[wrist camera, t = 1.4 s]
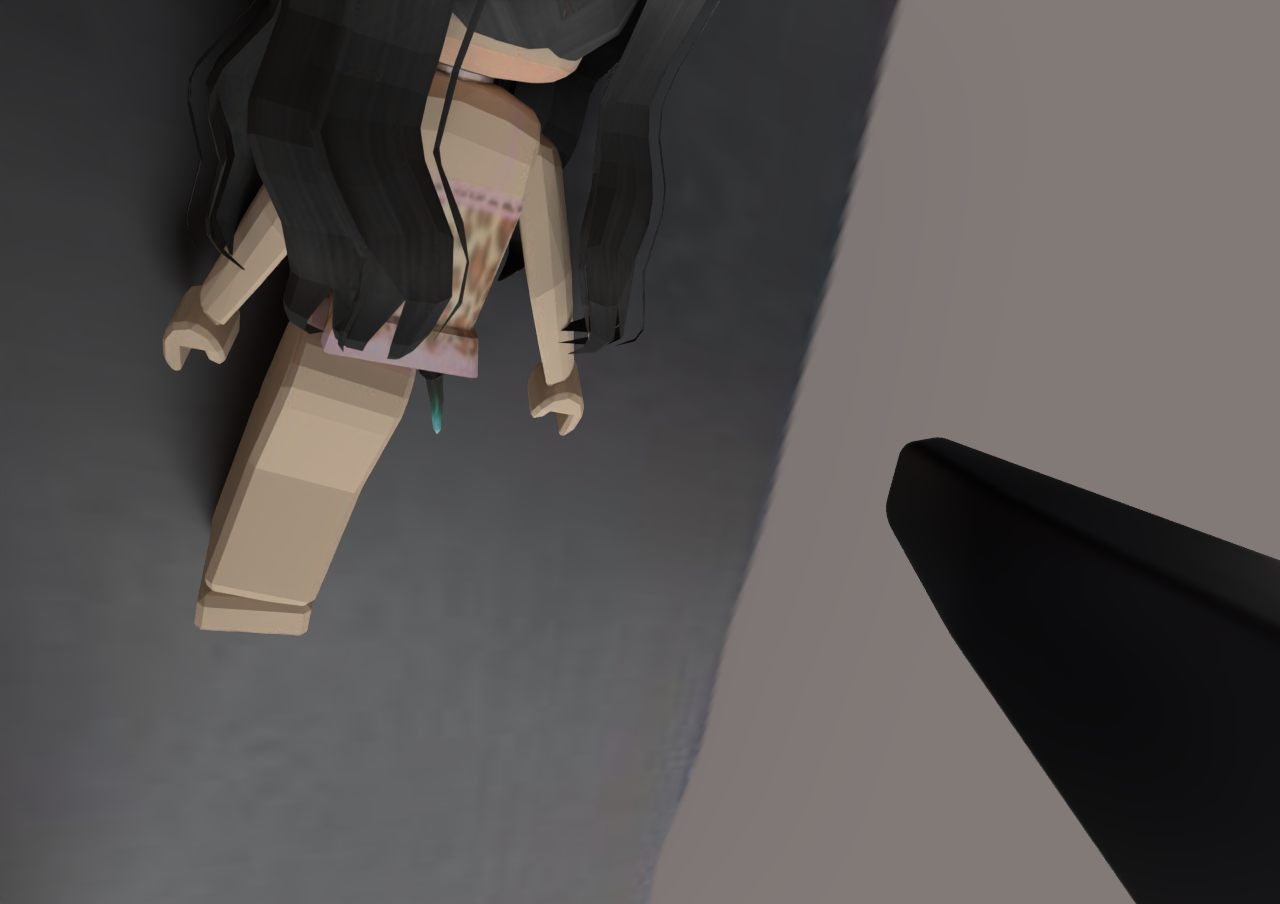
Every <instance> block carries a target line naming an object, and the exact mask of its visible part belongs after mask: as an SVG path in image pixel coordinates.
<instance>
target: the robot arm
mask: <svg viewBox="0 0 1280 904" xmlns="http://www.w3.org/2000/svg"><path fill="white" fill-rule="evenodd" d="M886 512H887V518H888V521H889V524H890V526H891V528H892V530H893V532H894V534H895V536H896V538H897V539H898V541H899V543H900V545H901V547H902V548H903V550H904V552H905V554H906V556H907V558H908V559H909V561H910V563H911V565H912V567H913V568H914V570H915V572H916V574H917V576H918V577H919V579H920V581H921V583H922V585H923V586H924V588H925V590H926V592H927V594H928V595H929V597H930V599H931V601H932V603H933V605H934V606H935V608H936V610H937V611H938V613H939V615H940V617H941V619H942V621H943V622H944V624H945V625H946V627H947V629H948V631H949V633H950V634H951V636H952V637H953V639H954V641H955V642H956V644H957V645H958V647H959V648H960V650H961V651H962V653H963V654H964V656H965V657H966V659H967V660H968V662H969V663H970V665H971V666H972V667H973V669H974V670H975V672H976V673H977V674H978V676H979V678H980V679H981V680H982V682H983V683H984V685H985V686H986V688H987V689H988V690H989V692H990V693H991V695H992V696H993V698H994V699H995V701H996V702H997V704H998V705H999V706H1000V708H1001V709H1002V711H1003V712H1004V714H1005V715H1006V717H1007V718H1008V719H1009V721H1010V722H1011V724H1012V725H1013V727H1014V728H1015V729H1016V731H1017V733H1018V734H1019V735H1020V737H1021V738H1022V740H1023V741H1024V743H1025V744H1026V745H1027V747H1028V748H1029V750H1030V751H1031V753H1032V754H1033V756H1034V757H1035V759H1036V760H1037V762H1038V763H1039V764H1040V766H1041V767H1042V769H1043V770H1044V772H1045V773H1046V775H1047V776H1048V777H1049V779H1050V780H1051V782H1052V783H1053V784H1054V786H1055V788H1056V789H1057V790H1058V792H1059V793H1060V795H1061V796H1062V798H1063V799H1064V800H1065V802H1066V803H1067V805H1068V806H1069V808H1070V809H1071V810H1072V812H1073V814H1074V815H1075V816H1076V818H1077V819H1078V821H1079V822H1080V824H1081V825H1082V827H1083V828H1084V830H1085V831H1086V832H1087V834H1088V835H1089V837H1090V838H1091V840H1092V841H1093V842H1094V844H1095V845H1096V847H1097V848H1098V850H1099V851H1100V853H1101V854H1102V855H1103V857H1104V858H1105V860H1106V861H1107V863H1108V864H1109V866H1110V867H1111V869H1112V870H1113V871H1114V873H1115V874H1116V876H1117V877H1118V879H1119V880H1120V882H1121V883H1122V884H1123V886H1124V887H1125V889H1126V890H1127V892H1128V893H1129V895H1130V896H1131V897H1132V899H1133V900H1134V902H1135V903H1136V904H1280V560H1277V559H1275V558H1272V557H1269V556H1266V555H1264V554H1261V553H1258V552H1255V551H1253V550H1250V549H1247V548H1244V547H1242V546H1239V545H1236V544H1233V543H1231V542H1228V541H1225V540H1222V539H1220V538H1217V537H1214V536H1212V535H1209V534H1206V533H1203V532H1200V531H1198V530H1195V529H1192V528H1189V527H1187V526H1184V525H1181V524H1179V523H1176V522H1173V521H1170V520H1168V519H1165V518H1162V517H1159V516H1156V515H1154V514H1151V513H1148V512H1145V511H1143V510H1140V509H1137V508H1135V507H1132V506H1129V505H1126V504H1124V503H1121V502H1118V501H1115V500H1113V499H1110V498H1107V497H1104V496H1102V495H1099V494H1096V493H1093V492H1091V491H1088V490H1085V489H1082V488H1079V487H1077V486H1074V485H1072V484H1069V483H1066V482H1063V481H1061V480H1058V479H1055V478H1052V477H1049V476H1047V475H1044V474H1041V473H1039V472H1036V471H1033V470H1030V469H1028V468H1025V467H1022V466H1019V465H1016V464H1014V463H1011V462H1008V461H1005V460H1003V459H1000V458H997V457H994V456H992V455H989V454H986V453H984V452H981V451H978V450H975V449H973V448H970V447H967V446H964V445H962V444H959V443H956V442H954V441H950V440H948V439H945V438H930V439H924V440H919V441H913V442H910V443H908V444H906V445H905V446H904V448H903V449H902V450H901V452H900V454H899V458H898V462H897V465H896V469H895V473H894V476H893V480H892V484H891V487H890V491H889V495H888V499H887V503H886Z"/></svg>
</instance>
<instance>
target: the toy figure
mask: <svg viewBox="0 0 1280 904" xmlns="http://www.w3.org/2000/svg"><path fill="white" fill-rule="evenodd" d="M255 1H256V0H253V2H252V3H251V5H250V6H249V7H248V8H247V9H246V10H245V11H244V12H243V13H242V14H241V15H240V16H239V17H238V18H237V19H236V21H235V22H234V23H233V24H232V25H231V26H230V27H229V28H228V29H227V30H226V31H225V32H224V33H223V34H222V36H221V37H220V38H219V39H218V40H217V41H216V42H215V43H214V44H213V45H212V46H211V47H210V48H209V49H208V50H207V52H206V53H205V54H204V55H203V56H202V57H201V58H200V59H199V60H198V61H197V63H196V65H195V67H194V70H193V72H192V74H191V76H190V78H189V88H188V102H187V103H188V107H189V112H190V116H191V121H192V126H193V130H194V135H195V139H196V144H197V148H198V153H199V157H200V161H199V165H198V169H197V173H196V177H195V181H194V185H193V189H192V192H191V196H190V200H189V204H188V208H187V212H186V217H187V227H188V232H189V234H190V235H191V237H192V238H193V236H192V234H191V233H190V231H189V219H188V212H189V208H190V204H191V200H192V196H193V193H194V189H195V185H196V181H197V178H198V174H199V170H200V166H201V163H202V155H201V150H200V146H199V141H198V136H197V131H196V127H195V122H194V117H193V112H192V108H191V103H190V95H191V78H192V76H193V74H194V72H195V69H196V68H197V67H198V66H199V64H200V63H201V62H202V61H203V60H204V58H205V57H206V56H207V55H208V54H209V53H210V51H211V50H212V49H213V48H214V47H215V45H216V44H217V43H218V42H219V41H220V40H221V38H222V37H223V36H224V35H225V34H226V33H227V32H228V31H229V30H230V29H231V28H232V27H233V26H234V25H235V24H236V23H237V22H238V20H239V19H240V18H241V17H242V16H243V15H244V14H245V13H246V12H247V11H248V10H249V9H250V8H251V7H252V6H253V5H254V3H255ZM706 1H707V0H269V3H268V6H267V7H266V8H265V9H264V10H263V12H262V13H261V14H260V15H259V16H258V17H257V18H256V19H255V20H254V21H253V22H252V23H251V24H250V25H249V26H248V27H247V28H246V29H245V30H244V31H243V32H242V33H241V34H240V35H239V36H238V37H237V38H236V39H235V41H234V42H233V43H232V44H231V45H230V46H229V47H228V48H227V49H226V50H225V51H224V52H223V53H222V54H221V55H220V56H219V57H218V59H217V61H216V63H215V65H214V67H213V69H212V71H211V73H210V75H209V77H208V79H207V82H206V103H205V108H206V112H207V116H208V120H209V124H210V128H211V132H212V137H213V141H214V145H215V149H216V153H217V157H218V165H217V169H216V173H215V177H214V181H213V185H212V189H211V193H210V197H209V200H208V204H207V208H206V212H205V224H206V233H207V236H208V237H209V239H210V240H211V242H212V243H213V245H214V246H215V247H216V249H217V250H218V252H220V253H221V255H220V256H219V258H218V260H217V261H216V263H215V265H214V266H213V268H212V270H211V271H210V273H209V275H208V276H207V278H206V280H205V281H204V283H203V285H199V286H192V287H191V288H190V289H189V290H188V291H187V292H186V293H185V295H184V297H183V298H182V300H181V302H180V304H179V306H178V308H177V310H176V312H175V314H174V315H173V317H172V319H171V321H170V323H169V325H168V327H167V329H166V331H165V334H164V337H163V340H162V344H163V353H164V356H165V359H166V361H167V363H168V364H169V365H170V367H171V368H172V369H173V370H178V371H179V370H180V369H181V368H182V366H183V364H184V362H185V360H186V358H187V356H188V354H189V352H190V350H191V348H195V349H200V350H205V352H206V354H207V356H208V358H209V359H210V360H212V361H214V362H216V363H218V364H220V363H222V362H224V361H225V359H226V357H227V355H228V353H229V351H230V349H231V347H232V345H233V343H234V340H235V338H236V336H237V334H238V332H239V327H240V312H239V310H238V309H239V308H240V307H241V306H242V304H243V303H244V302H245V301H246V300H247V299H248V298H249V297H250V296H251V295H252V294H253V293H254V292H255V290H256V289H257V288H258V287H259V286H260V285H261V284H262V282H263V281H264V280H265V279H266V278H267V277H268V275H269V274H270V273H271V272H272V271H273V270H274V269H275V267H276V266H277V265H278V264H279V263H280V262H281V260H282V259H283V258H284V257H285V256H286V255H288V261H289V266H290V274H289V278H288V281H287V285H286V288H285V292H284V296H283V303H284V309H285V311H286V314H287V316H288V319H289V323H288V325H287V327H286V330H285V332H284V334H283V337H282V339H281V341H280V344H279V346H278V348H277V351H276V353H275V355H274V358H273V360H272V362H271V365H270V367H269V369H268V372H267V374H266V376H265V379H264V381H263V383H262V386H261V389H260V393H259V396H258V399H257V400H256V401H255V403H254V406H253V409H252V412H251V414H250V417H249V420H248V422H247V425H246V428H245V431H244V433H243V436H242V439H241V441H240V444H239V447H238V450H237V452H236V455H235V458H234V461H233V463H232V466H231V469H230V471H229V474H228V477H227V480H226V482H225V485H224V488H223V490H222V493H221V496H220V499H219V501H218V504H217V507H216V509H215V512H214V515H213V518H212V525H211V533H210V540H209V546H208V551H207V556H206V561H205V565H204V570H203V575H202V580H201V585H200V590H199V595H198V600H197V608H196V616H195V625H196V626H197V627H199V628H200V629H202V630H219V631H235V632H251V633H268V634H284V635H302V634H303V633H305V632H306V631H307V629H308V624H309V619H310V614H311V607H312V601H313V600H315V599H316V596H317V594H318V591H319V589H320V587H321V584H322V582H323V580H324V577H325V575H326V572H327V570H328V568H329V565H330V563H331V560H332V558H333V556H334V553H335V551H336V549H337V546H338V544H339V541H340V539H341V537H342V534H343V532H344V530H345V527H346V525H347V522H348V520H349V518H350V515H351V513H352V511H353V508H354V506H355V503H356V501H357V499H358V496H359V494H360V492H361V489H362V487H363V485H364V484H365V482H366V480H367V478H368V476H369V475H370V473H371V471H372V469H373V468H374V466H375V464H376V462H377V460H378V459H379V457H380V455H381V453H382V452H383V450H384V448H385V446H386V444H387V443H388V441H389V439H390V437H391V436H392V434H393V432H394V430H395V428H396V427H397V425H398V423H399V421H400V420H401V418H402V415H403V413H404V410H405V407H406V405H407V402H408V400H409V397H410V393H411V390H412V386H413V383H414V379H415V373H416V369H419V372H420V374H422V375H423V376H424V377H425V378H426V383H427V388H428V392H429V397H430V402H431V412H432V422H433V429H434V430H435V432H436V433H438V432H439V431H440V430H441V422H442V410H443V376H442V375H443V374H451V375H457V376H463V377H469V378H476V377H478V337H477V334H476V332H475V330H474V327H473V326H474V324H475V322H476V319H477V317H478V315H479V312H480V310H481V308H482V305H483V303H484V301H485V298H486V296H487V294H488V291H489V289H490V287H491V284H492V282H493V280H494V277H495V275H496V272H497V270H498V267H499V265H500V263H501V260H502V258H503V255H504V253H505V250H506V248H507V246H508V243H509V254H508V257H507V261H506V264H505V266H504V268H503V270H502V272H501V275H500V277H499V279H498V281H501V280H503V279H505V278H507V277H509V276H510V275H512V274H514V273H516V272H518V271H520V270H521V269H522V268H523V267H524V266H525V270H526V276H527V282H528V288H529V294H530V299H531V305H532V310H533V316H534V321H535V327H536V332H537V338H538V343H539V348H540V353H541V358H542V362H541V363H538V364H537V365H536V366H535V367H534V368H533V370H532V373H531V375H530V377H529V379H528V381H527V387H528V396H529V405H530V413H531V415H532V416H533V417H542V416H544V415H545V414H547V413H548V412H550V411H553V412H556V416H557V422H558V429H559V434H560V435H566V434H567V433H569V432H570V431H572V430H573V429H574V428H575V426H576V425H577V423H578V422H579V420H580V419H581V417H582V414H583V409H584V404H583V398H582V392H581V386H580V380H579V374H578V369H577V364H576V362H575V361H574V354H577V353H591V352H597V351H599V350H600V349H602V348H603V347H604V346H606V345H607V344H610V343H612V342H614V341H617V340H619V339H621V337H622V336H623V331H624V326H625V320H626V314H627V308H628V302H629V296H630V290H631V283H632V277H633V271H634V265H635V259H636V256H637V254H638V251H639V248H640V246H641V243H642V240H643V238H644V235H645V232H646V230H647V227H648V225H649V219H650V212H651V206H652V200H653V191H652V168H651V159H650V150H649V141H648V133H649V105H650V103H651V101H652V99H653V97H654V94H655V92H656V90H657V88H658V86H659V84H660V82H661V79H662V77H663V75H664V73H665V71H666V69H667V67H668V65H669V64H670V62H671V60H672V59H673V57H674V55H675V53H676V52H677V50H678V48H679V47H680V45H681V43H682V42H683V40H684V38H685V36H686V35H687V33H688V31H689V30H690V28H691V26H692V24H693V23H694V21H695V19H696V18H697V16H698V14H699V13H700V11H701V9H702V7H703V6H704V4H705V2H706ZM719 2H720V0H719V1H718V2H717V4H716V6H715V8H714V9H713V11H712V13H711V14H710V16H709V18H708V20H707V21H706V23H705V25H704V26H703V28H702V30H701V31H700V33H699V35H698V37H697V38H696V40H695V42H694V43H693V45H692V47H691V49H690V50H689V52H688V54H687V55H686V57H685V59H684V60H683V62H682V64H681V66H682V65H683V63H684V61H685V60H686V58H687V56H688V55H689V53H690V51H691V50H692V48H693V46H694V45H695V43H696V41H697V39H698V38H699V36H700V34H701V33H702V31H703V29H704V28H705V26H706V24H707V23H708V21H709V19H710V18H711V16H712V14H713V13H714V11H715V9H716V8H717V6H718V4H719ZM620 59H621V60H620ZM619 60H620V62H619V64H618V66H617V68H616V70H615V72H614V74H613V76H612V78H611V80H610V82H609V84H608V86H607V88H606V90H605V92H604V95H603V100H602V102H601V104H600V113H599V122H598V131H597V141H596V150H595V159H594V168H593V179H592V188H591V192H590V196H589V200H588V204H587V208H586V212H585V215H584V219H583V223H582V227H581V231H580V248H579V277H580V287H581V297H582V306H583V311H584V317H585V318H583V319H580V320H577V321H573V301H572V261H571V251H570V241H569V232H568V222H567V212H566V202H565V192H564V182H563V172H562V169H563V168H564V166H565V165H566V164H567V162H568V161H569V159H570V158H571V155H572V153H573V151H574V149H575V146H576V144H577V142H578V139H579V136H580V132H581V128H582V124H583V120H584V116H585V112H586V108H587V104H588V100H589V96H590V93H591V91H592V89H593V87H594V85H595V83H596V82H597V81H598V80H599V79H600V78H601V77H602V76H603V75H604V74H605V73H606V72H607V71H608V70H610V69H611V68H612V67H613V66H614V65H615V64H616V63H617V62H618V61H619ZM681 66H680V67H679V69H678V71H679V70H680V68H681ZM678 71H677V73H678ZM677 73H676V75H677ZM676 75H675V77H674V79H673V82H674V80H675V78H676ZM494 78H499V79H503V83H502V86H501V87H500V86H498V85H496V84H494V83H493V81H494ZM507 80H514V81H517V83H516V88H515V94H514V96H513V95H512V94H511V93H509V92H508V91H506V90H505V89H504V88H505V85H506V81H507ZM673 82H672V84H673ZM672 84H671V86H672ZM671 86H670V88H669V91H670V89H671ZM669 91H668V93H669ZM668 93H667V95H668ZM667 95H666V97H665V100H666V98H667ZM218 98H219V99H218ZM219 100H220V103H221V106H222V109H223V112H224V115H225V118H226V121H227V123H228V126H229V129H230V132H231V135H232V140H233V146H234V152H235V158H234V161H233V164H232V167H231V170H230V173H229V176H228V180H227V183H226V186H225V189H224V192H223V195H222V199H221V202H220V205H219V208H218V211H217V214H216V218H217V221H218V224H219V227H220V229H221V232H222V235H223V238H224V240H225V243H226V246H225V248H224V249H223V248H222V247H221V246H220V244H219V242H218V240H217V239H216V237H215V235H214V233H213V231H212V212H213V208H214V204H215V201H216V197H217V194H218V190H219V186H220V183H221V179H222V175H223V172H224V168H225V165H226V161H227V153H226V146H225V140H224V133H223V126H222V120H221V113H220V106H219ZM665 100H664V102H665ZM664 102H663V104H664ZM663 104H662V106H661V116H660V129H659V146H660V155H661V163H662V171H663V179H664V198H663V208H662V215H661V218H660V221H659V224H658V227H657V230H656V233H655V237H654V240H653V243H652V246H651V249H650V252H649V255H648V258H647V261H646V264H645V267H644V270H643V329H642V330H641V331H640V333H639V334H638V335H637V337H636V338H635V339H633V340H630V341H627V342H625V343H629V342H633V341H635V340H636V339H637V338H638V336H639V335H640V334H641V333H642V331H643V330H644V312H645V270H646V267H647V264H648V261H649V257H650V254H651V251H652V248H653V245H654V242H655V238H656V235H657V232H658V229H659V226H660V223H661V219H662V216H663V210H664V199H665V189H666V187H665V178H664V169H663V160H662V151H661V142H660V134H661V120H662V107H663ZM193 240H194V238H193ZM194 241H195V240H194ZM195 243H196V242H195ZM197 246H198V245H197ZM585 258H586V272H587V287H588V296H587V289H586V282H585V275H584V263H585ZM328 293H329V294H328ZM588 301H589V303H588ZM589 313H590V316H589ZM618 324H619V326H618V327H617V328H615V326H617V325H618ZM573 331H580V332H588V337H585V338H580V339H575V340H573ZM589 332H591V333H590V335H589ZM625 343H622V344H625ZM574 344H585V346H584V347H583V348H580V349H578V350H575V351H574ZM619 345H621V344H619ZM616 346H617V345H616Z"/></svg>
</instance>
